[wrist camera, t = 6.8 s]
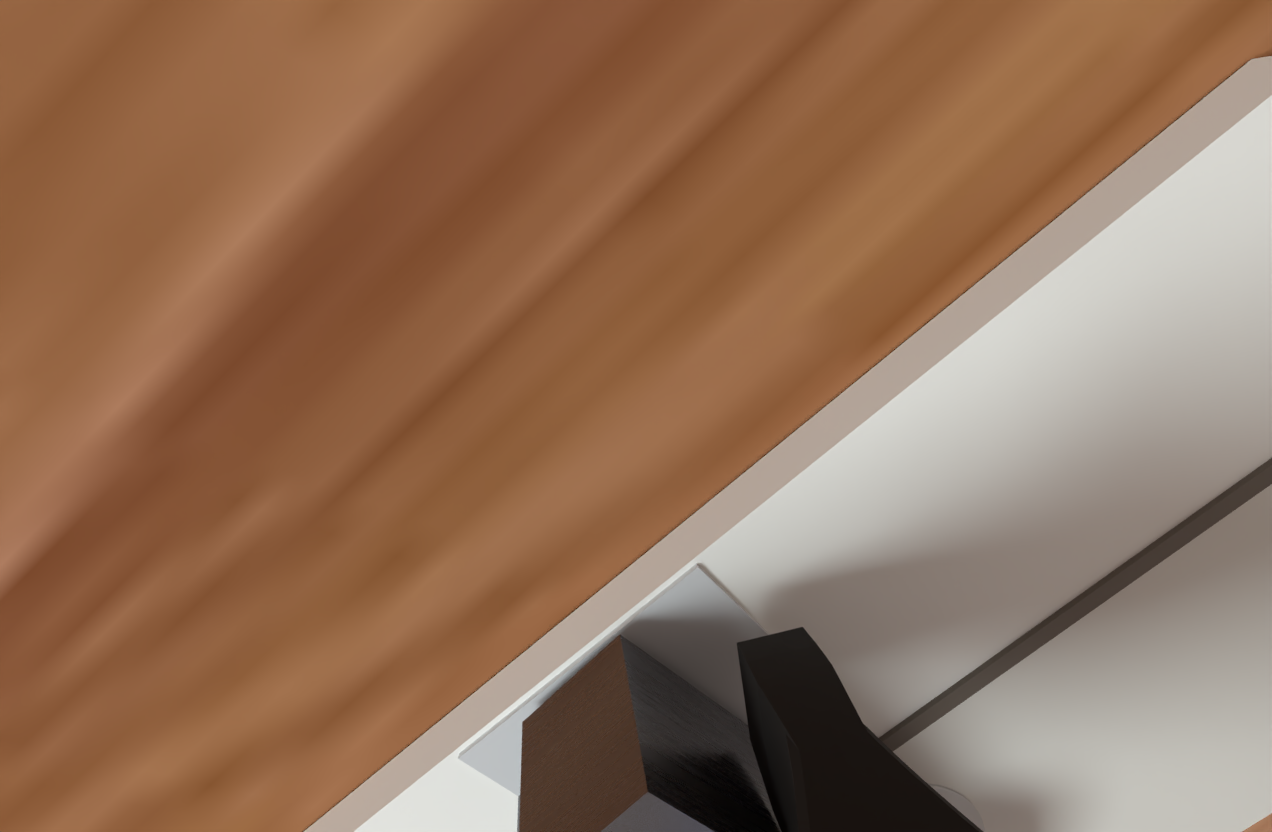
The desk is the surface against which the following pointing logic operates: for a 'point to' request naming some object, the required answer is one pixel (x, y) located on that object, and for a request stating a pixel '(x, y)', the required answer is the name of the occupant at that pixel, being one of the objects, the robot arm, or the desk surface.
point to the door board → (993, 533)
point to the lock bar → (638, 755)
